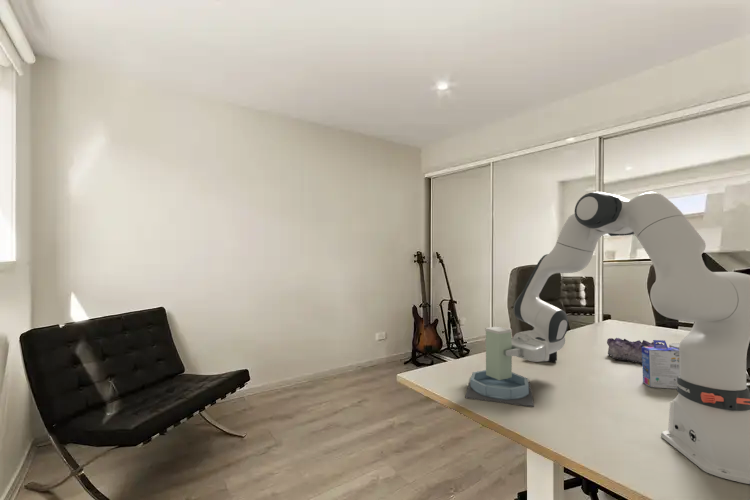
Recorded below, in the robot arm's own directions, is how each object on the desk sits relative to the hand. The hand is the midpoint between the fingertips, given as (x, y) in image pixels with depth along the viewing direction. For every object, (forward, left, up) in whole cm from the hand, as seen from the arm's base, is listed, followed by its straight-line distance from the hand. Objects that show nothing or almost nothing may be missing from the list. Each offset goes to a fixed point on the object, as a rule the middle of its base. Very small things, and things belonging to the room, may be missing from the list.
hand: (496, 350), depth 113 cm
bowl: (0, -1, -13) cm, 13 cm away
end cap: (+40, -17, -13) cm, 46 cm away
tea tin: (+1, -1, -8) cm, 8 cm away
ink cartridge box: (+22, -51, -13) cm, 57 cm away
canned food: (+34, -61, -13) cm, 71 cm away
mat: (0, -1, -13) cm, 13 cm away
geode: (+52, -52, -13) cm, 74 cm away
